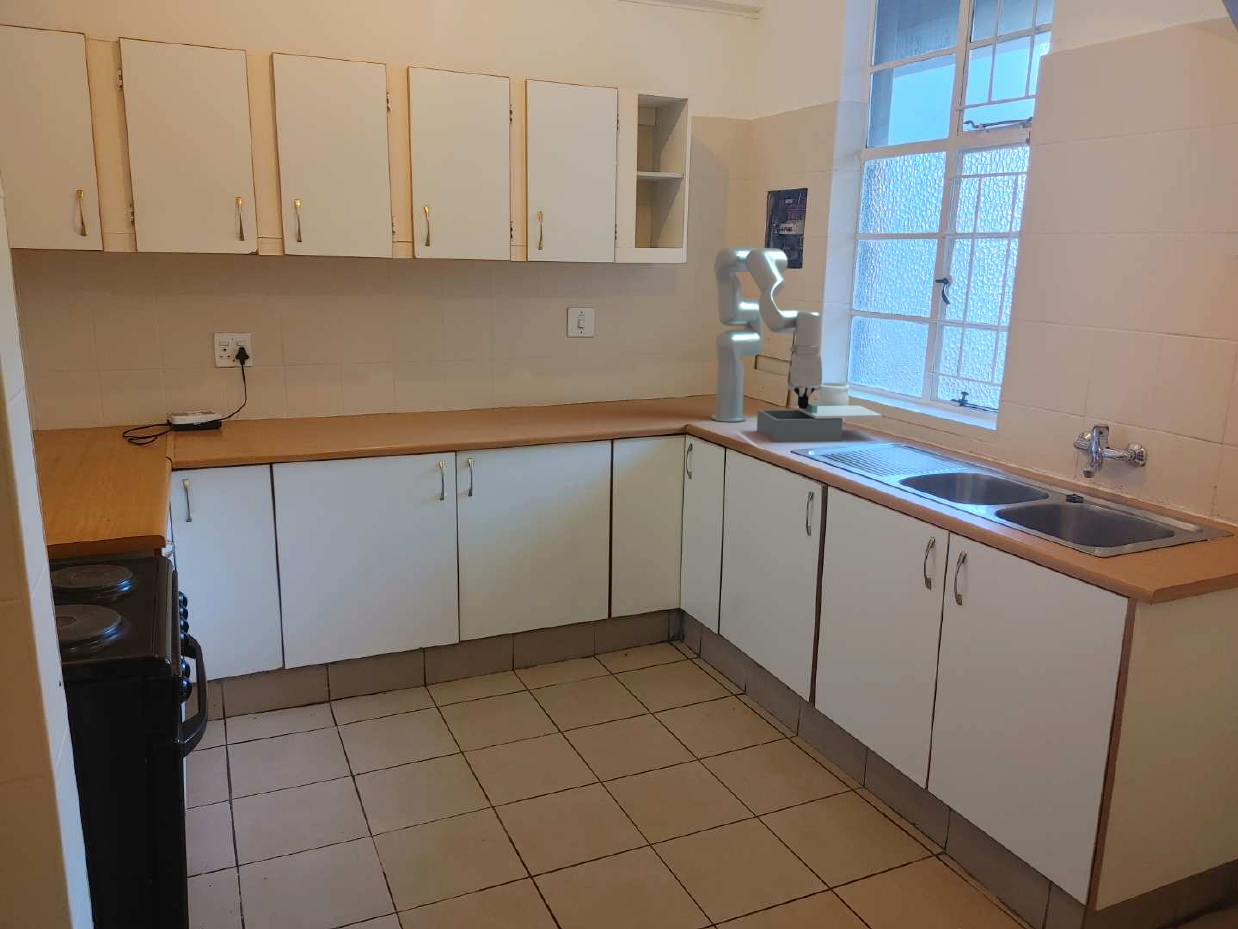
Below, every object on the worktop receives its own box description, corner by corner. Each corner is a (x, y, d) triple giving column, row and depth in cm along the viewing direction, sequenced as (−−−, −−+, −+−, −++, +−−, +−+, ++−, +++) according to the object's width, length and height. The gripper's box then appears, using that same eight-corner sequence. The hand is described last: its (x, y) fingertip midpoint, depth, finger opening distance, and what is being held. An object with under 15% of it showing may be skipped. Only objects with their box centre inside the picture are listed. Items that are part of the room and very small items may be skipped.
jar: (847, 431, 309) (850, 387, 305) (815, 430, 311) (818, 386, 307) (846, 426, 319) (849, 383, 315) (815, 424, 321) (818, 381, 317)
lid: (795, 408, 303) (796, 399, 302) (859, 407, 306) (859, 398, 305) (815, 418, 285) (816, 408, 285) (882, 417, 289) (883, 407, 288)
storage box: (756, 433, 303) (757, 410, 301) (820, 432, 306) (821, 409, 304) (773, 445, 285) (775, 420, 283) (841, 444, 289) (842, 419, 287)
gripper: (787, 352, 285) (784, 410, 289) (833, 352, 287) (829, 410, 291) (779, 349, 292) (776, 406, 296) (824, 349, 294) (820, 406, 298)
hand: (802, 408), depth 293 cm, fingers closed
